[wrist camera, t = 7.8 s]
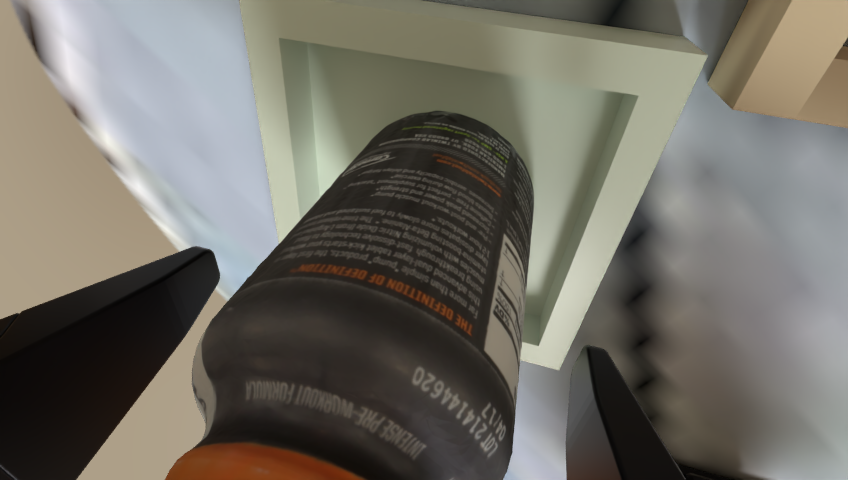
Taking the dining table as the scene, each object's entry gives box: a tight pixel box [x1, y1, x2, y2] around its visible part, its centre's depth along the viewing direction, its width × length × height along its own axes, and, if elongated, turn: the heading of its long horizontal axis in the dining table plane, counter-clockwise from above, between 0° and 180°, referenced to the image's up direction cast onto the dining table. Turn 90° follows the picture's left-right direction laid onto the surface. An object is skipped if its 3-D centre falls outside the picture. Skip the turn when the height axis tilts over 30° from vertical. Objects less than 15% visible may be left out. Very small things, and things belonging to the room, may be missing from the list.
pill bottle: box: [165, 111, 534, 480], centre depth 10 cm, size 6×6×11 cm
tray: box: [239, 0, 708, 370], centre depth 14 cm, size 11×11×2 cm
